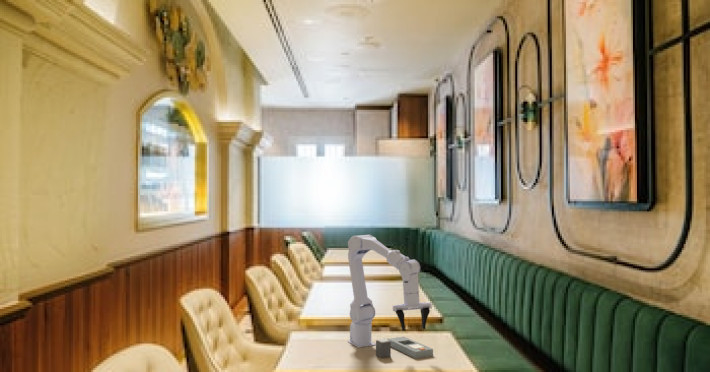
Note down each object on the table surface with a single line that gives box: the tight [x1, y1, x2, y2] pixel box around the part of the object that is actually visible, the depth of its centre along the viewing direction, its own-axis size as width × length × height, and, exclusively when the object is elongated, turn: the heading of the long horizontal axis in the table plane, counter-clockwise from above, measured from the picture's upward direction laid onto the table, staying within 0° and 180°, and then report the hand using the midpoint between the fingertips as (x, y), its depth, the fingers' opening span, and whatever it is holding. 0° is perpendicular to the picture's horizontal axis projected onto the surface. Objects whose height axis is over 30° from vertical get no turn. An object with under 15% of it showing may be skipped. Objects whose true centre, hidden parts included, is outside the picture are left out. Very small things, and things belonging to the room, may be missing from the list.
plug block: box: [375, 338, 392, 359], centre depth 198 cm, size 4×4×6 cm
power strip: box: [387, 336, 434, 360], centre depth 206 cm, size 20×8×3 cm, turn 28°
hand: (413, 329), depth 198 cm, fingers open, 7 cm apart
